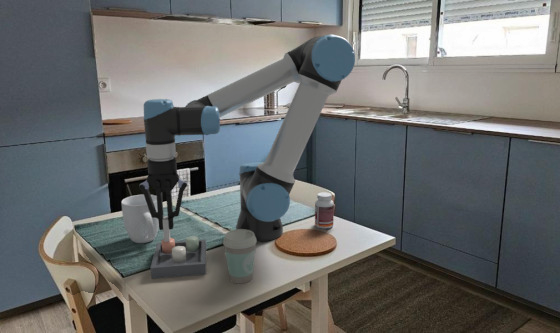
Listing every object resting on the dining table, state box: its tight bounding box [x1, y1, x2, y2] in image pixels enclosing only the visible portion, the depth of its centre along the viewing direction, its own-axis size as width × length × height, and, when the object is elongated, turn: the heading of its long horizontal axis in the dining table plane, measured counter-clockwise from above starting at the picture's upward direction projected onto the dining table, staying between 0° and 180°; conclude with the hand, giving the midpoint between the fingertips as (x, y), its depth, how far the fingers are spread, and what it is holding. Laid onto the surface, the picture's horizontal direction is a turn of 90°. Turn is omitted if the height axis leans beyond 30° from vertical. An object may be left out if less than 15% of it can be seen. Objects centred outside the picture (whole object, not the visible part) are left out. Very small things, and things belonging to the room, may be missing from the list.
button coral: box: [160, 237, 176, 254], centre depth 125 cm, size 4×4×3 cm
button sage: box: [184, 235, 200, 252], centre depth 126 cm, size 4×4×3 cm
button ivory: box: [172, 246, 186, 263], centre depth 120 cm, size 4×4×3 cm
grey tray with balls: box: [150, 239, 207, 279], centre depth 124 cm, size 14×16×3 cm
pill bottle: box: [314, 191, 335, 230], centre depth 148 cm, size 6×6×11 cm
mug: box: [120, 193, 160, 244], centre depth 137 cm, size 15×11×13 cm
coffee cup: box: [222, 228, 258, 284], centre depth 114 cm, size 8×8×12 cm
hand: (167, 239), depth 125 cm, fingers closed
